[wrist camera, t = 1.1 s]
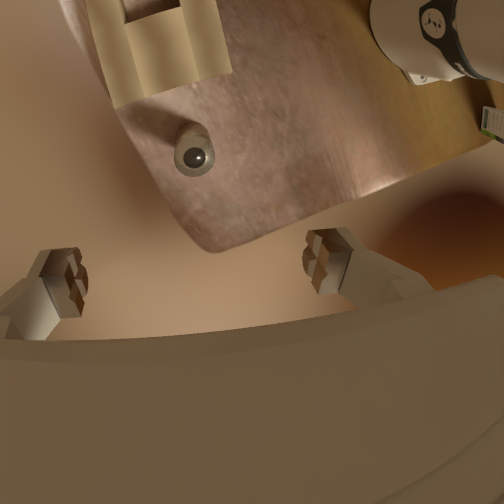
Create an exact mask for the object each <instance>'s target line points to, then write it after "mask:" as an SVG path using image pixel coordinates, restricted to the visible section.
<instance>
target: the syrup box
mask: <svg viewBox="0 0 504 504" xmlns="http://www.w3.org/2000/svg"><path fill="white" fill-rule="evenodd" d="M480 132H481V133H483V134H485V135H487V136H489V137H491V138H493V139H495V140H497V141H499V142H501V143H503V144H504V111H501V110H499V109H497V108H492V107H487V106H483V116H482V124H481V130H480Z"/></svg>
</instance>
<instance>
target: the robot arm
mask: <svg viewBox="0 0 504 504" xmlns="http://www.w3.org/2000/svg"><path fill="white" fill-rule="evenodd" d="M370 23H371V28H372V31H373V34H374V37H375V39H376V41H377V43H378V45H379V47H380V48H381V50H382V51H383V52H384V54H385V55H386V56H387V57H388V58H389V59H390V60H391V61H392V62H393V63H395V64H396V65H397V66H398V67H400V68H401V69H402V70H403V72H404V74H405V75H406V77H407V79H408V80H409V82H410V83H411V84H413V85H422V84H426V83H430V82H434V81H438V80H445V81H452V79H456V78H459V77H462V76H465V75H467V76H469V77H471V78H475V79H482V80H492V79H493V80H496V81H499V82H502V83H504V0H372V2H371V6H370ZM306 242H307V243H308V246H307V247H306V248H305V249H304V251H303V256H302V261H303V268H304V271H305V272H306V274H307V275H308V276H310V277H312V282H311V283H312V285H313V287H314V288H315V290H316V292H317V293H318V295H319V294H320V295H321V294H329V293H336V292H339V294H341V295H342V296H343V297H345V298H346V299H347V300H349V301H350V302H351V303H353V304H354V305H355V306H357V307H358V308H360V309H357V310H353V311H347V312H342V313H337V314H331V315H326V316H321V317H315V318H309V319H303V320H297V321H290V322H284V323H277V324H271V325H264V326H256V327H249V328H241V329H234V330H225V331H216V332H207V333H197V334H187V335H175V336H162V337H149V338H132V339H109V340H67V341H66V340H64V341H63V340H56V341H55V340H45V339H46V337H47V336H48V334H50V332H51V331H52V330H53V328H54V327H55V326H56V325H57V323H58V322H59V321H60V318H75V317H81V315H82V311H83V307H84V300H83V297H84V296H85V295H86V294H87V291H88V276H87V272H86V268H85V267H84V266H83V265H81V264H80V263H81V260H82V256H81V252H80V250H79V249H78V248H77V247H74V248H60V249H47V250H42V251H40V252H39V254H38V256H37V257H36V259H35V261H34V263H33V265H32V267H31V269H30V271H29V273H28V275H27V277H26V278H23V279H21V280H20V281H19V282H18V283H16V284H15V285H14V286H13V287H12V288H10V289H9V290H8V291H7V292H5V293H4V294H3V295H2V296H1V297H0V504H504V279H502V278H500V277H498V276H494V275H492V276H487V277H484V278H481V279H478V280H474V281H471V282H467V283H464V284H460V285H457V286H453V287H450V288H446V289H442V290H439V291H435V290H434V289H433V288H432V287H431V286H430V284H429V283H428V282H427V281H426V280H425V279H424V278H423V277H422V275H421V274H419V273H417V272H415V271H413V270H411V269H409V268H407V267H405V266H403V265H401V264H398V263H397V262H394V261H392V260H390V259H388V258H386V257H384V256H382V255H380V254H378V253H376V252H373V251H372V250H366V248H365V247H364V246H363V245H362V244H361V243H360V242H359V240H358V239H357V238H356V237H355V236H354V235H353V234H352V233H351V231H350V230H349V229H348V228H346V227H341V228H331V229H318V230H309V231H308V233H307V236H306Z"/></svg>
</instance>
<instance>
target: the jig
mask: <svg viewBox="0 0 504 504" xmlns="http://www.w3.org/2000/svg"><path fill="white" fill-rule="evenodd" d="M179 4H180V7H177V8H173V9H170V10H166V11H163V12H159V13H156V14H153V15H150V16H147V17H144V18H141V19H138V20H135V21H132V22H130V23H129V22H128V18H127V14H126V10H125V5H124V1H123V0H85V5H86V9H87V14H88V18H89V22H90V26H91V30H92V34H93V38H94V42H95V46H96V49H97V53H98V57H99V60H100V64H101V67H102V70H103V74H104V77H105V81H106V84H107V87H108V90H109V93H110V97H111V100H112V103H113V106H114V109H117V108H119V107H122V106H124V105H127V104H129V103H132V102H135V101H137V100H140V99H143V98H145V97H148V96H151V95H154V94H157V93H160V92H163V91H166V90H169V89H172V88H176V87H179V86H182V85H186V84H189V83H193V82H197V81H200V80H204V79H208V78H212V77H216V76H220V75H225V74H229V73H233V72H232V68H231V64H230V59H229V55H228V51H227V46H226V42H225V38H224V34H223V30H222V25H221V21H220V17H219V13H218V9H217V5H216V1H215V0H179Z"/></svg>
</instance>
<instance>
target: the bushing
mask: <svg viewBox="0 0 504 504" xmlns="http://www.w3.org/2000/svg"><path fill="white" fill-rule="evenodd" d="M214 161H215V152H214V149H213V146H212V143H211V140H210V137H209V134H208V131H207V129H206V128H205V127H204V126H203V125H201V124H199V123H194V122H192V123H187V124H185V125H183V126H182V127H181V128H180V129H179V131H178V132H177V135H176V143H175V152H174V163H175V166H176V167H177V169H178V170H179V171H180V172H181V173H182V174H184V175H186V176H190V177H197V176H201V175H203V174H205V173H207V172H208V171H209V170H210V169H211V168H212V166H213V164H214Z"/></svg>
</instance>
